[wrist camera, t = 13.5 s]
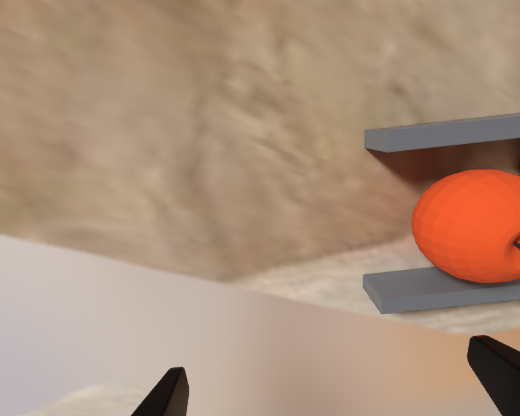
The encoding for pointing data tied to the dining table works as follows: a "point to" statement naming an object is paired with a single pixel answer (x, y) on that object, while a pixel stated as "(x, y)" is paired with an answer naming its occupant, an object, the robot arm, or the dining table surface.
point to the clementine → (472, 225)
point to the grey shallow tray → (434, 279)
